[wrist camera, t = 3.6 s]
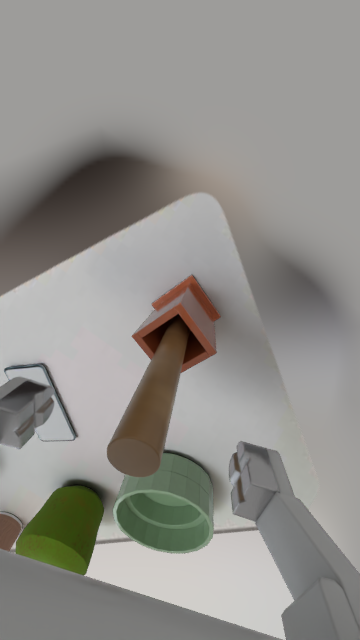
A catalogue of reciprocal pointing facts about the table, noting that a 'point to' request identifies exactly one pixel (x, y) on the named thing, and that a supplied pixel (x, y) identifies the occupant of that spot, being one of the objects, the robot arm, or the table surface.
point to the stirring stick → (150, 408)
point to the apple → (64, 529)
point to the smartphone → (58, 421)
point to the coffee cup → (8, 530)
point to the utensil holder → (195, 314)
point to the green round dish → (167, 507)
